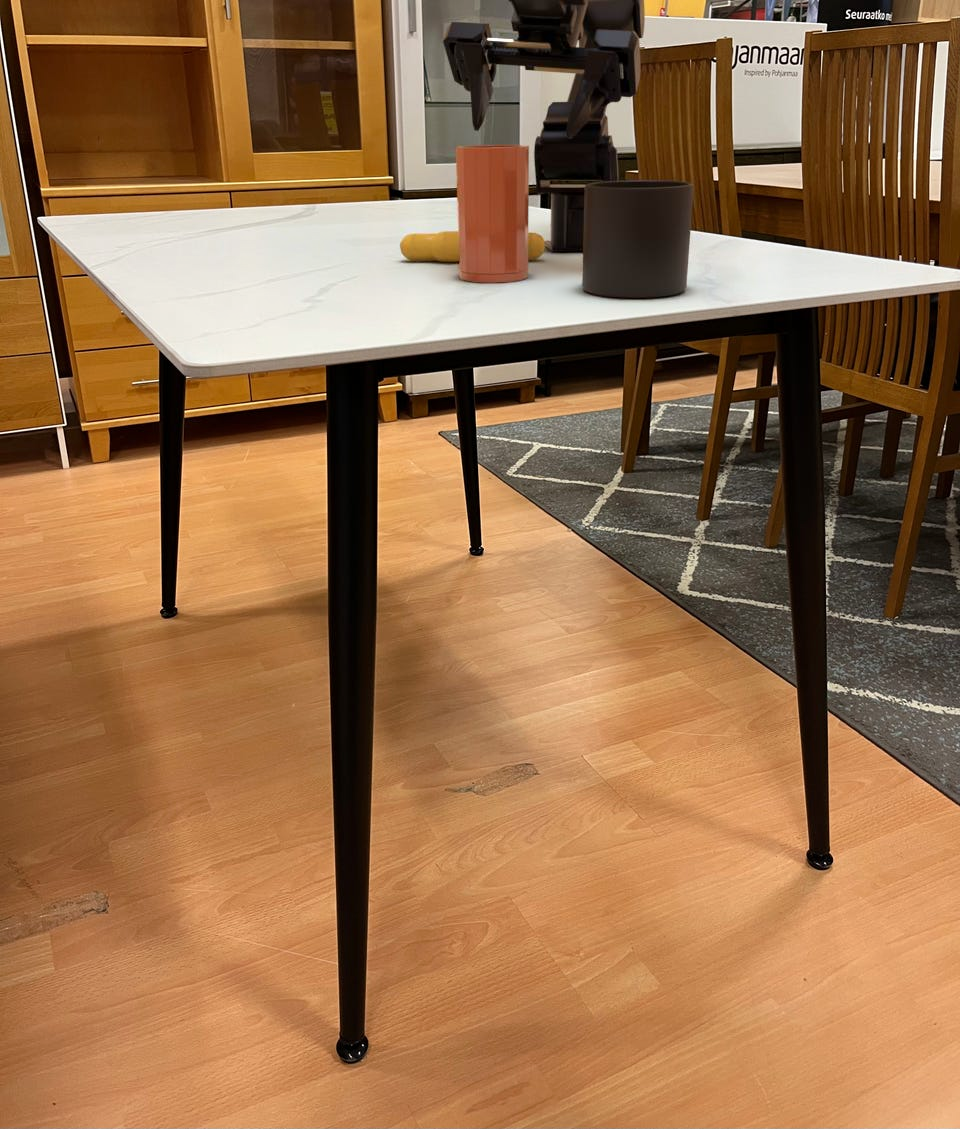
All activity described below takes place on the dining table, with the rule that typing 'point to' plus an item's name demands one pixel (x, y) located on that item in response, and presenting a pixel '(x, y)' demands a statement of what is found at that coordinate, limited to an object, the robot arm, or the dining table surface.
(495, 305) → the dining table surface
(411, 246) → the yellow ridged dog toy
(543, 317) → the dining table surface
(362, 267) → the dining table surface
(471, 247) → the pot
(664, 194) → the mug
